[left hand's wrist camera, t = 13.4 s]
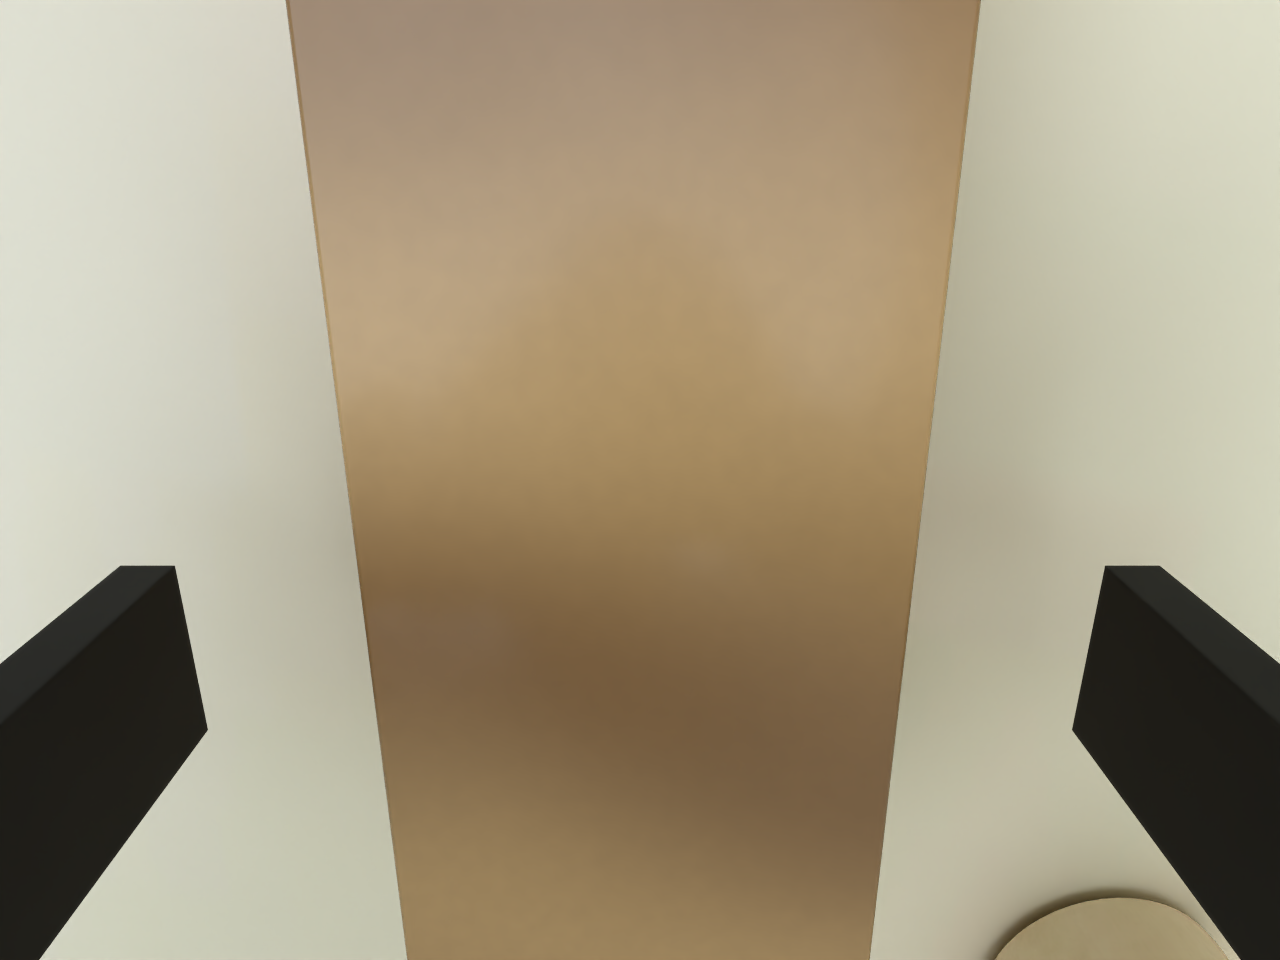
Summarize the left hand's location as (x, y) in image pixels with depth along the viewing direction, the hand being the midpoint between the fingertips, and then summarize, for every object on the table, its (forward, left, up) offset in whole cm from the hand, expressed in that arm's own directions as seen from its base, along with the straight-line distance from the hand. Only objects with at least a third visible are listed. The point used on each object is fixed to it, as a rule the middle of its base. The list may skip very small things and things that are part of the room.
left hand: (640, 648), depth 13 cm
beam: (+19, -14, -4) cm, 24 cm away
